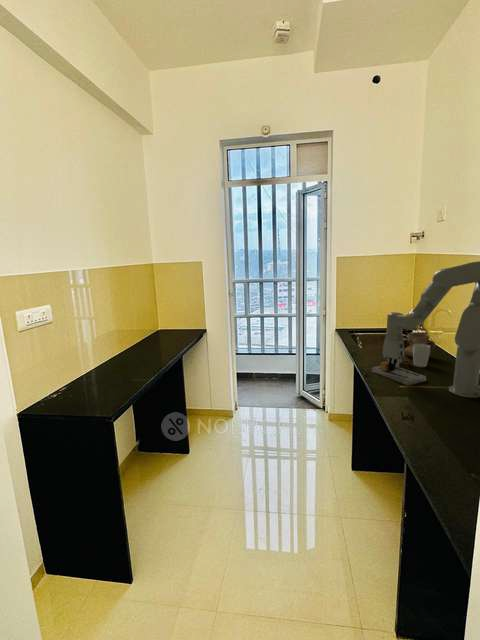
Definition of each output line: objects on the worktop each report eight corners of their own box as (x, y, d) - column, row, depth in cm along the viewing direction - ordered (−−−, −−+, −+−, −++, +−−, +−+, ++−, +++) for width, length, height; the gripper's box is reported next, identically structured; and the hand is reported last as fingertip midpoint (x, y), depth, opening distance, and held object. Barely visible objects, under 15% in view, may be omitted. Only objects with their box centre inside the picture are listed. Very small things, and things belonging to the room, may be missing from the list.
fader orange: (390, 369, 180) (391, 362, 179) (385, 371, 178) (385, 363, 177) (385, 368, 182) (386, 361, 182) (380, 369, 181) (380, 362, 180)
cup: (411, 366, 193) (412, 346, 191) (411, 362, 201) (413, 342, 199) (429, 368, 189) (430, 348, 187) (428, 364, 197) (430, 344, 195)
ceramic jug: (401, 358, 209) (403, 336, 207) (401, 352, 222) (403, 331, 220) (434, 361, 202) (437, 338, 199) (433, 355, 214) (435, 333, 212)
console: (425, 381, 171) (426, 376, 170) (408, 385, 165) (408, 380, 165) (388, 368, 191) (388, 363, 191) (371, 371, 186) (372, 367, 185)
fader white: (398, 366, 184) (399, 359, 183) (393, 368, 182) (394, 361, 182) (394, 365, 187) (394, 358, 186) (388, 366, 185) (389, 359, 185)
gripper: (411, 338, 168) (408, 373, 172) (387, 332, 181) (384, 365, 185) (401, 340, 165) (398, 375, 168) (377, 334, 178) (375, 367, 182)
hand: (391, 370), depth 177 cm, fingers closed
